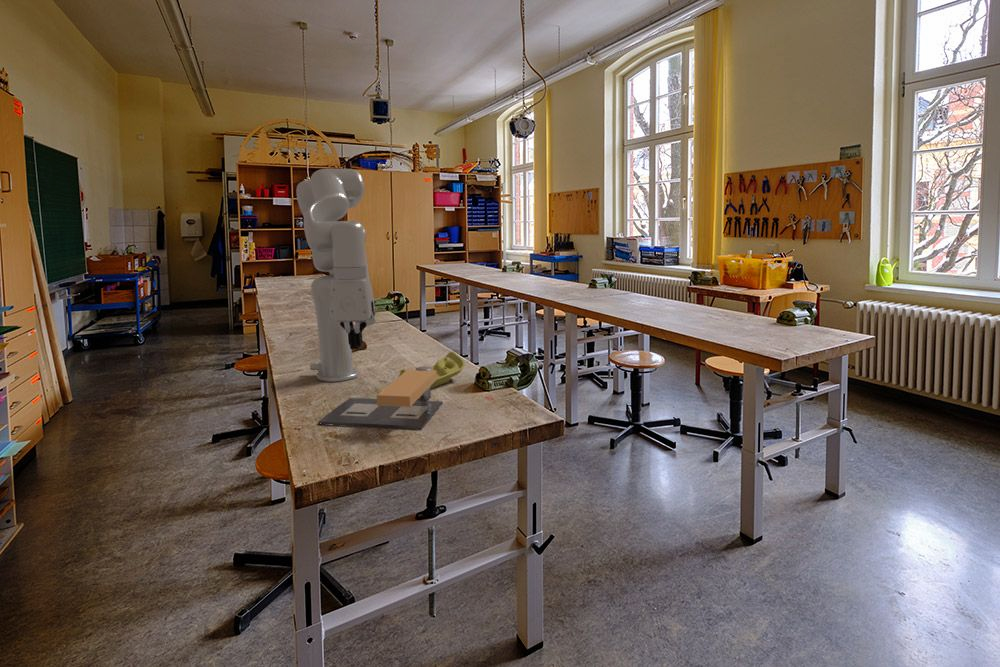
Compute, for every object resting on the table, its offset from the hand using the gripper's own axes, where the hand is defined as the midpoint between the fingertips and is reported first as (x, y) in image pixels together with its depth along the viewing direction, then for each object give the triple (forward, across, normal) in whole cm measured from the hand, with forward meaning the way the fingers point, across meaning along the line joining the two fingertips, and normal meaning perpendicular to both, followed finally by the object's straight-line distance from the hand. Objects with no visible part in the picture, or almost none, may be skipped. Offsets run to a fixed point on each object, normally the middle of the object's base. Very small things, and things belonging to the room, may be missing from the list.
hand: (356, 347), depth 142 cm
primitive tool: (+18, -32, +59) cm, 69 cm away
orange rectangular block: (+11, +13, +2) cm, 17 cm away
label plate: (+17, +6, +3) cm, 18 cm away
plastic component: (+18, +11, +28) cm, 35 cm away
